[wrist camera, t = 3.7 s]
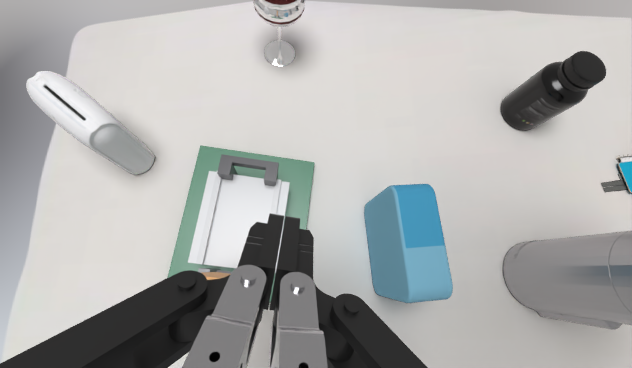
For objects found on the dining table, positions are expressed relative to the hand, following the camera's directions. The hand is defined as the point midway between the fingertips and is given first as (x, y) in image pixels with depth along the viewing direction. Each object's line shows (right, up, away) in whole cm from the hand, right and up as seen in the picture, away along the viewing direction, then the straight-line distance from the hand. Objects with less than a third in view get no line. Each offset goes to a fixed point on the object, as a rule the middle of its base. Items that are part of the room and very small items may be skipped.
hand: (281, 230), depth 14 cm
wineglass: (-4, +23, +34) cm, 41 cm away
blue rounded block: (+11, -7, +27) cm, 30 cm away
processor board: (-8, -3, +25) cm, 27 cm away
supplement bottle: (+36, +14, +35) cm, 52 cm away
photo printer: (-25, +7, +27) cm, 37 cm away
